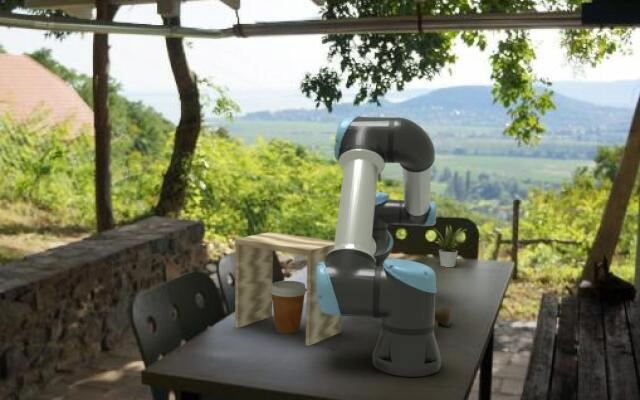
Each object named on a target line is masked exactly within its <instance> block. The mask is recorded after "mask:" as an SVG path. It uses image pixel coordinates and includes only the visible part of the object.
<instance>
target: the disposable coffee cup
mask: <svg viewBox="0 0 640 400" xmlns="http://www.w3.org/2000/svg"><path fill="white" fill-rule="evenodd" d="M270 291H271V294H272V311H273V318H274V319H273V320H274V326H275V327H274V328H275V331H276V332H278V333H282V334H295V333H299V332H300V330H301V323H302V315H303V308H304V303H305V295H306V294H307V287H306V284H305V283H304V282H301V281H298V280H297V281H296V280H280V281H274V282H272V286H271V288H270Z"/></svg>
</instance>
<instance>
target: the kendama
mask: <svg viewBox="0 0 640 400" xmlns="http://www.w3.org/2000/svg"><path fill="white" fill-rule="evenodd" d="M451 315H452V309H451V306H449V305H447V306H444V307H441V308H436V307H435V319H434V335H435V337H436V336H437V335H438V331H439V329H438V327H439V324H440V325H442V326H444V327H446V326H448V327H449V326H450V324H451V319H452V317H451Z"/></svg>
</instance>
